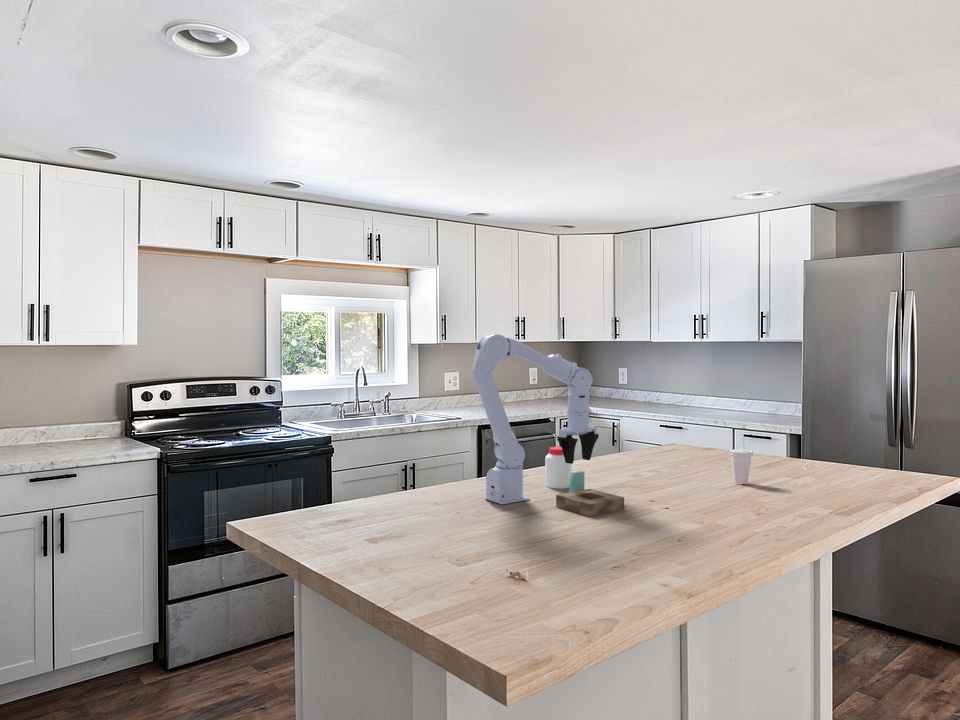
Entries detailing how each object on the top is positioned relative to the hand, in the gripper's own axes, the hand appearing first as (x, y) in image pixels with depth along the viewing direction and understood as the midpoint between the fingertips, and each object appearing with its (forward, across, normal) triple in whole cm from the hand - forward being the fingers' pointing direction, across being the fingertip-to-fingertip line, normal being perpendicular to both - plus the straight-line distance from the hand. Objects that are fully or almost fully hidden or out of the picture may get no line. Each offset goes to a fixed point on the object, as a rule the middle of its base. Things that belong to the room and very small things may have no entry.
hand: (577, 461), depth 182 cm
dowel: (+10, -2, -1) cm, 10 cm away
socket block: (+9, -8, -10) cm, 16 cm away
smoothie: (+9, +47, -24) cm, 54 cm away
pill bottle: (+10, +6, +12) cm, 17 cm away
